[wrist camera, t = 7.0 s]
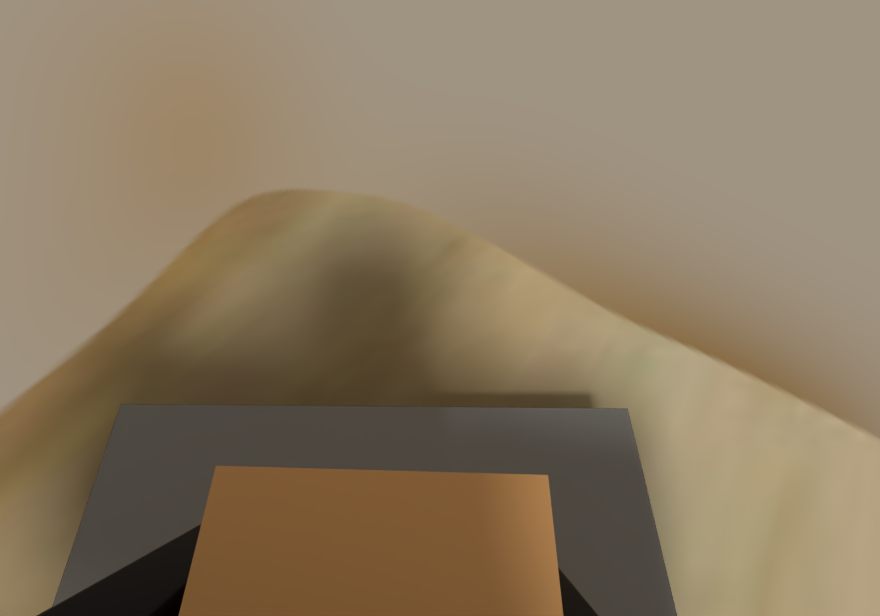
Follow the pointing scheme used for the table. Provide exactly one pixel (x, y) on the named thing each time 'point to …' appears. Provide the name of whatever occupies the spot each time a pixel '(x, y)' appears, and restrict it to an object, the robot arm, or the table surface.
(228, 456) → the jig plate
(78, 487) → the table surface
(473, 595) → the orange bar
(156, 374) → the table surface
